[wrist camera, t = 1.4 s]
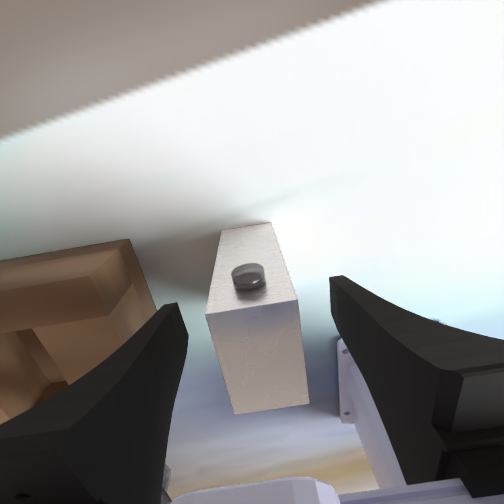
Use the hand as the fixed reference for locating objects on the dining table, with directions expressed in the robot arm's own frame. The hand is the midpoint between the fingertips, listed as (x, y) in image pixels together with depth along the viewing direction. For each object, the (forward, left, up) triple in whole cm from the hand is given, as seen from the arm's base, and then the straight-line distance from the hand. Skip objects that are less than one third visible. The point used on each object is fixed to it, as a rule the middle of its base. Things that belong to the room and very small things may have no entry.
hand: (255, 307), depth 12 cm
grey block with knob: (0, 0, -5) cm, 5 cm away
